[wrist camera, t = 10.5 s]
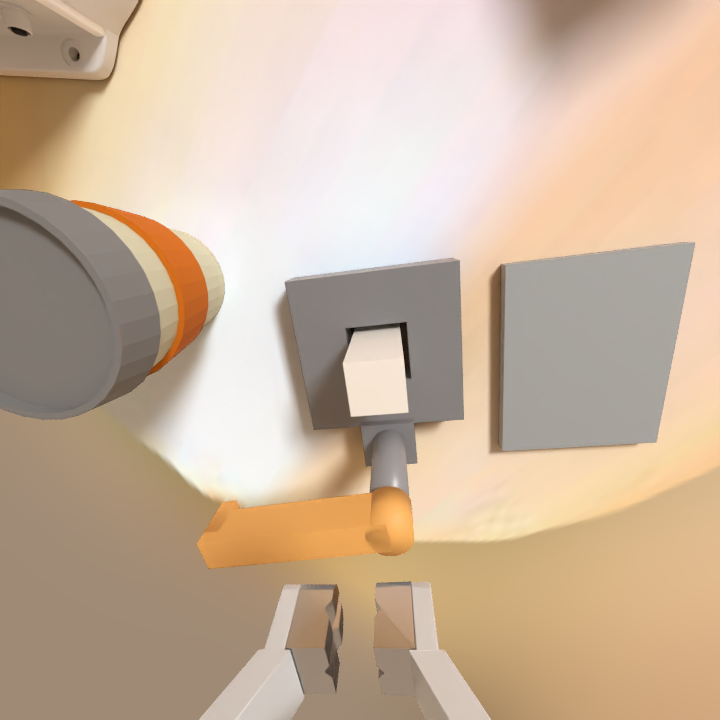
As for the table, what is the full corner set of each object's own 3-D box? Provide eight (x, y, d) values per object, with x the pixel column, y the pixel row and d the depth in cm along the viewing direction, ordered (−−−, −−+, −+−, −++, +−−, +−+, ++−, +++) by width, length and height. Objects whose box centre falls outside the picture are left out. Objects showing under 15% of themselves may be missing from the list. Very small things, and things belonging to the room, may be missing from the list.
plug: (361, 365, 33) (350, 416, 24) (356, 325, 32) (342, 363, 22) (402, 361, 32) (408, 412, 23) (399, 321, 31) (403, 357, 22)
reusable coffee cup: (162, 173, 28) (-59, 113, 14) (271, 286, 31) (174, 328, 17) (87, 276, 32) (-148, 308, 18) (190, 369, 35) (56, 461, 21)
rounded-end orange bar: (413, 508, 26) (417, 553, 22) (234, 528, 28) (210, 572, 25) (406, 474, 25) (409, 516, 21) (220, 498, 27) (194, 539, 24)
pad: (498, 444, 35) (502, 451, 34) (501, 264, 29) (505, 265, 28) (647, 435, 33) (656, 442, 32) (682, 242, 27) (695, 242, 26)
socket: (326, 450, 37) (304, 527, 27) (294, 277, 30) (250, 297, 21) (458, 442, 35) (485, 521, 25) (452, 258, 29) (484, 269, 19)
